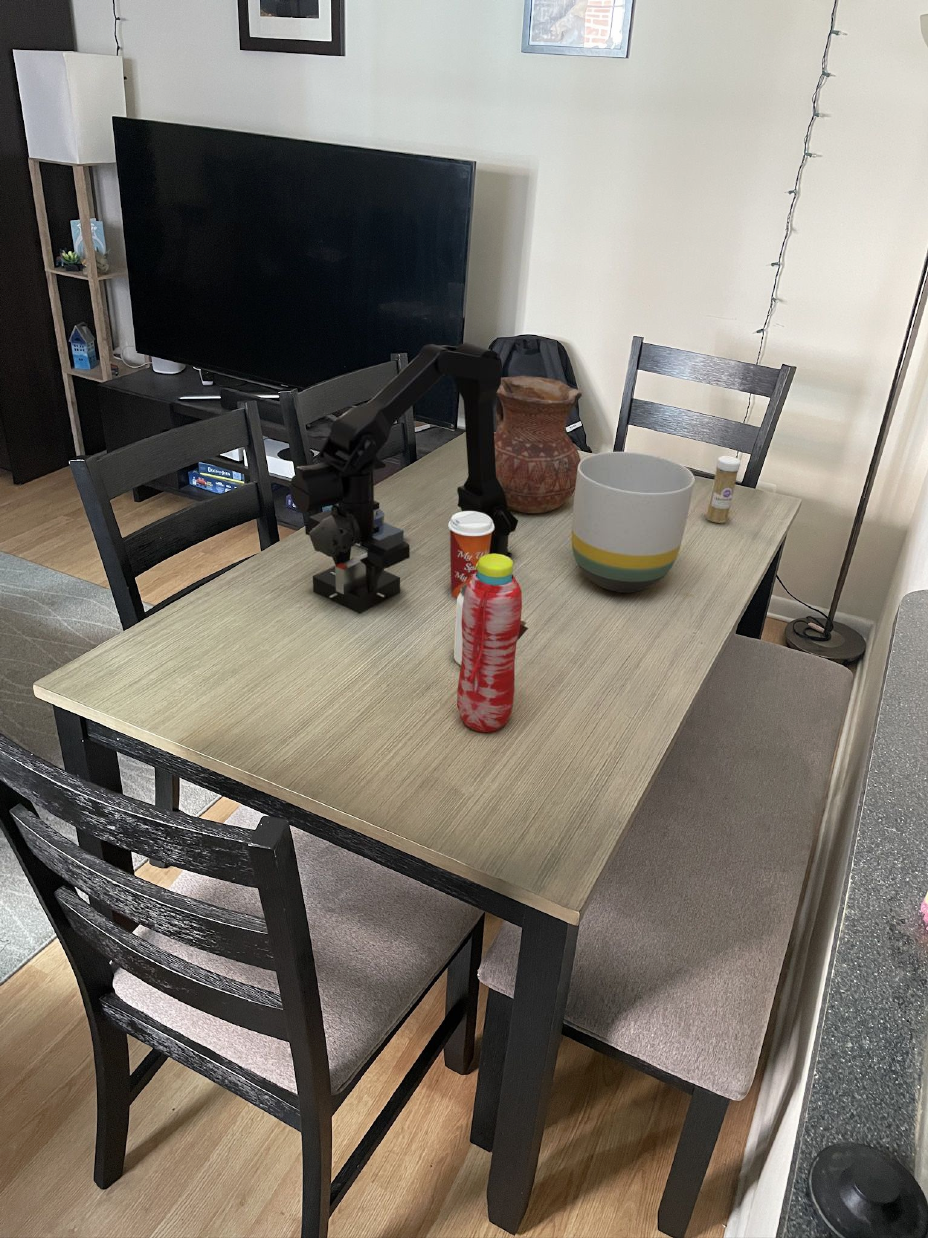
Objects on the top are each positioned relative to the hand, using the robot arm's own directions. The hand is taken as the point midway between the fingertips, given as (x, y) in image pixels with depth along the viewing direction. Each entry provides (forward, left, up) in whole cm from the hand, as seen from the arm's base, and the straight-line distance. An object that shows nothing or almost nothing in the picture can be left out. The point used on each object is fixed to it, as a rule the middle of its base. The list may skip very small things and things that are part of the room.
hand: (356, 584), depth 149 cm
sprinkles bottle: (-30, -77, -3) cm, 83 cm away
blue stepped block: (+15, -19, -3) cm, 24 cm away
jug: (+4, -56, -3) cm, 56 cm away
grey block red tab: (0, 0, 0) cm, 0 cm away
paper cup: (-12, -15, -3) cm, 20 cm away
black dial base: (+1, 0, -3) cm, 3 cm away
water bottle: (-36, +11, -3) cm, 38 cm away
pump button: (+17, -21, +1) cm, 27 cm away
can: (-26, +1, -3) cm, 26 cm away
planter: (-30, -37, -3) cm, 47 cm away
